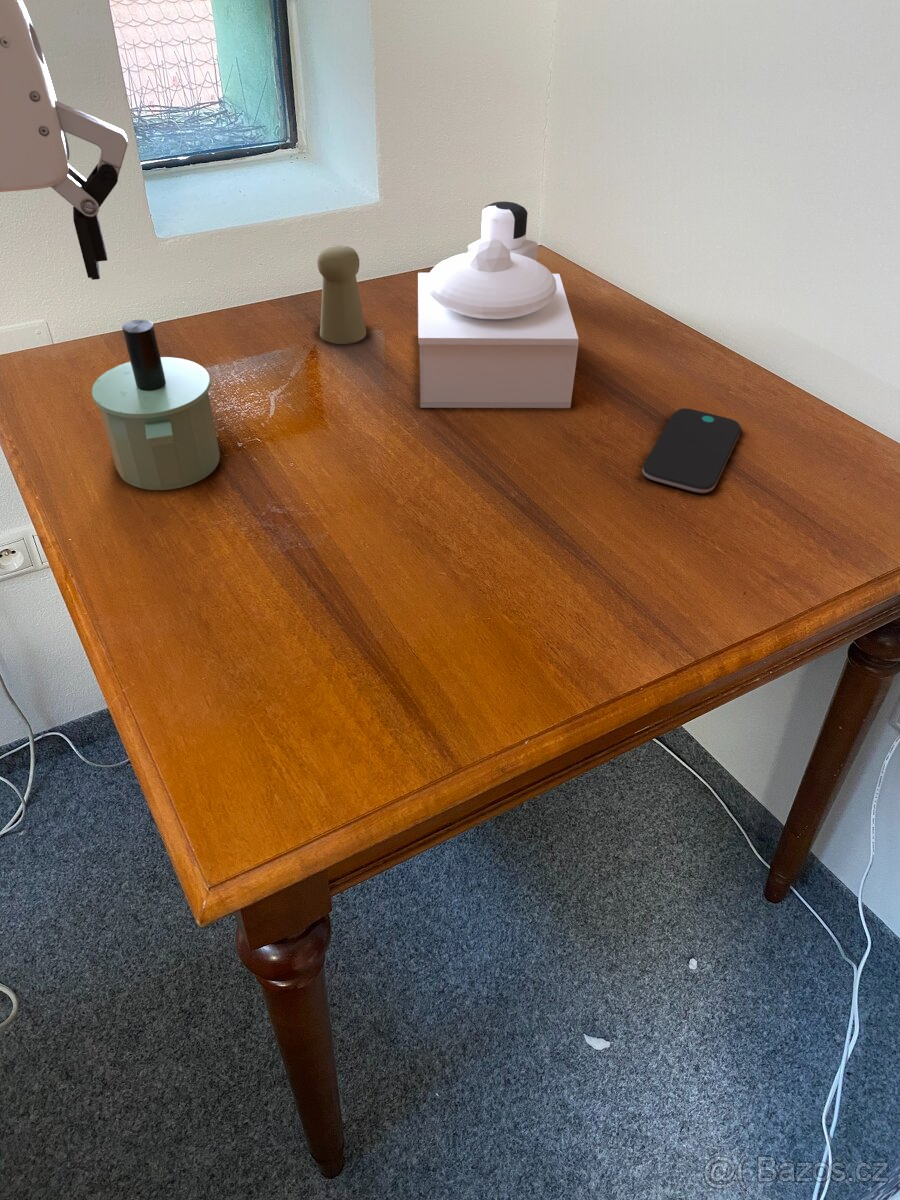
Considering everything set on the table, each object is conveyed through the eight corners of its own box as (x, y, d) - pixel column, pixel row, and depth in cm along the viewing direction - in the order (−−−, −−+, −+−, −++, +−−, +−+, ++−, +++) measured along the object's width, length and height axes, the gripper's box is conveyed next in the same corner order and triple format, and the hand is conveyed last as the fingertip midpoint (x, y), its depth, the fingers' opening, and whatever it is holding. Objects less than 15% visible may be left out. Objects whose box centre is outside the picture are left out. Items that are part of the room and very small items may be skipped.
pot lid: (95, 431, 81) (74, 361, 76) (93, 374, 89) (74, 307, 84) (218, 414, 84) (205, 345, 79) (205, 360, 92) (192, 294, 87)
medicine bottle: (493, 279, 128) (497, 193, 120) (534, 292, 125) (542, 204, 117) (464, 295, 123) (467, 207, 115) (507, 309, 120) (513, 219, 112)
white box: (553, 338, 114) (566, 212, 103) (570, 410, 101) (588, 274, 90) (418, 337, 114) (417, 211, 103) (418, 410, 100) (417, 273, 90)
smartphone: (744, 421, 98) (712, 490, 88) (742, 428, 98) (710, 498, 89) (677, 404, 100) (638, 470, 90) (676, 411, 101) (637, 477, 91)
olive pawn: (374, 328, 115) (371, 244, 108) (351, 347, 111) (346, 261, 104) (334, 319, 117) (328, 235, 110) (311, 337, 113) (302, 252, 106)
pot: (121, 513, 85) (98, 438, 79) (114, 430, 96) (94, 358, 90) (229, 495, 88) (215, 421, 82) (211, 416, 98) (197, 346, 93)
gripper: (88, -50, 51) (148, 246, 63) (-251, -47, 47) (-120, 270, 58) (92, -32, 46) (157, 288, 57) (-290, -27, 42) (-137, 317, 53)
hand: (17, 279), depth 58 cm, fingers open, 9 cm apart
